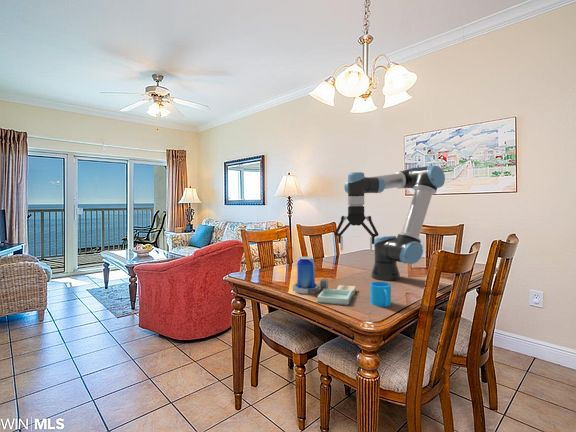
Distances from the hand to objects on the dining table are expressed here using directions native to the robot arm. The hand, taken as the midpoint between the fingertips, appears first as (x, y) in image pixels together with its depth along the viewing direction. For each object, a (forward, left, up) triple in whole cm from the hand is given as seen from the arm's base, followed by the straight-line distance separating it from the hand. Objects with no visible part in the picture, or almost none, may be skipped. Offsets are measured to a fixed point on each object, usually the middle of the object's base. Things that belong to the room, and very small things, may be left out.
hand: (356, 250), depth 147 cm
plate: (+5, +2, -20) cm, 21 cm away
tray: (+8, +14, -20) cm, 25 cm away
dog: (+15, +2, -20) cm, 25 cm away
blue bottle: (+24, +4, -20) cm, 31 cm away
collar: (+24, +4, -20) cm, 31 cm away
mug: (-12, +16, -20) cm, 28 cm away
